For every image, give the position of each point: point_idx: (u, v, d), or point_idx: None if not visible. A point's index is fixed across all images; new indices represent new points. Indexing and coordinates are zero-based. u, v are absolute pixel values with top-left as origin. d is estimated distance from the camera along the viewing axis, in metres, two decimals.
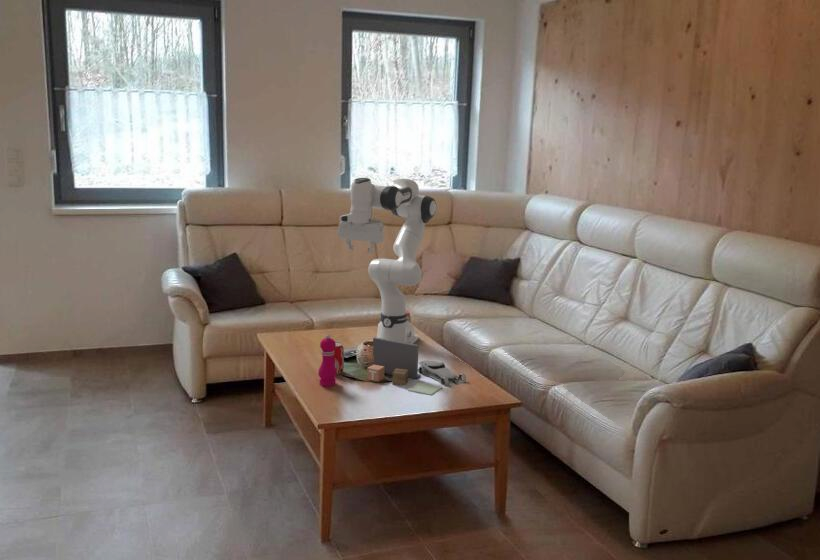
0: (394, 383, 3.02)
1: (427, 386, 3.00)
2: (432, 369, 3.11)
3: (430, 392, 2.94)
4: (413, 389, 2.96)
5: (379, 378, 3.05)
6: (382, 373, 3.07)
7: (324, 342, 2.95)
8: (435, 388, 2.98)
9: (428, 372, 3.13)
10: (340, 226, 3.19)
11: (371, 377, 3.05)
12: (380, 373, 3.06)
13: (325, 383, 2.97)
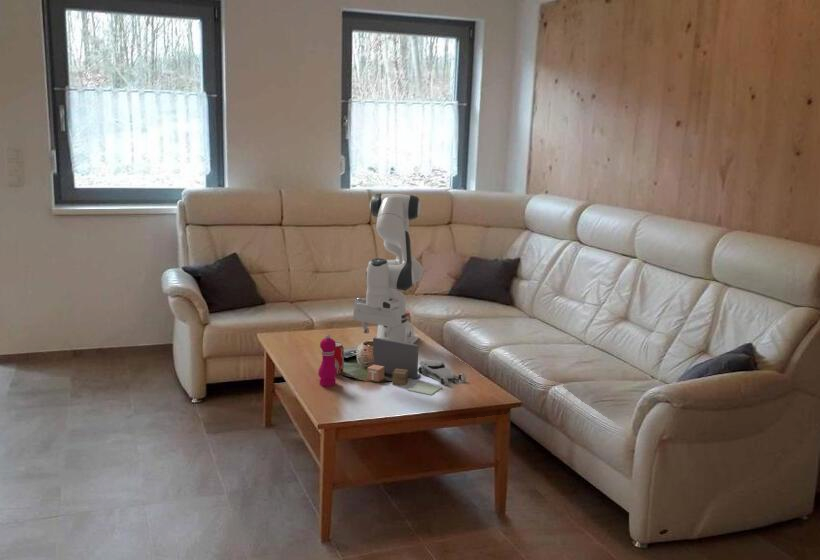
0: (394, 383, 3.02)
1: (427, 386, 3.00)
2: (432, 369, 3.12)
3: (430, 392, 2.94)
4: (413, 389, 2.96)
5: (379, 378, 3.05)
6: (382, 373, 3.07)
7: (324, 342, 2.95)
8: (435, 388, 2.98)
9: (428, 372, 3.13)
10: None
11: (371, 377, 3.05)
12: (380, 373, 3.06)
13: (325, 383, 2.97)
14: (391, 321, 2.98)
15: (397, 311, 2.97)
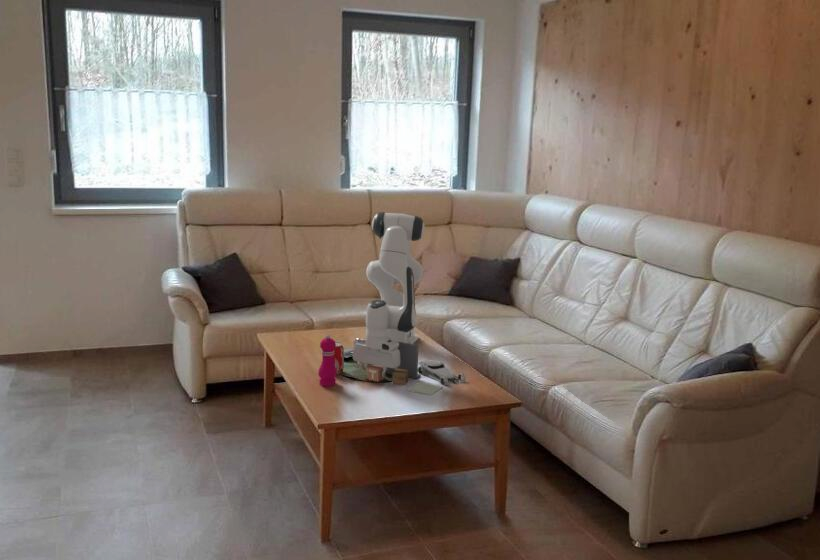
0: (394, 383, 3.02)
1: (427, 386, 3.00)
2: (431, 369, 3.11)
3: (430, 392, 2.94)
4: (413, 389, 2.96)
5: (379, 378, 3.05)
6: None
7: (324, 342, 2.95)
8: (435, 388, 2.98)
9: (427, 372, 3.13)
10: None
11: (371, 377, 3.05)
12: None
13: (325, 383, 2.97)
14: (390, 363, 3.01)
15: (396, 353, 3.00)
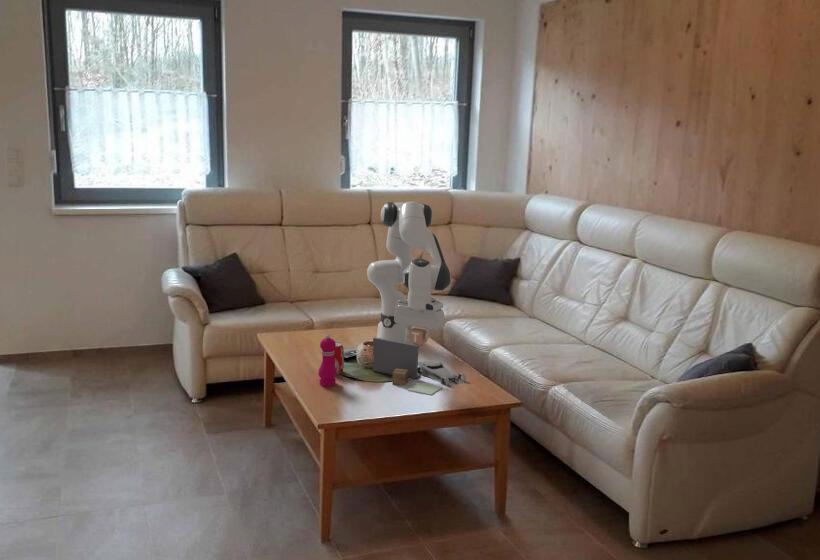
0: (394, 383, 3.02)
1: (427, 386, 3.00)
2: (431, 369, 3.11)
3: (430, 392, 2.94)
4: (413, 389, 2.96)
5: (422, 340, 2.92)
6: None
7: (324, 342, 2.95)
8: (435, 388, 2.98)
9: (427, 372, 3.13)
10: None
11: (414, 339, 2.93)
12: None
13: (325, 383, 2.97)
14: (434, 324, 2.88)
15: (440, 314, 2.88)
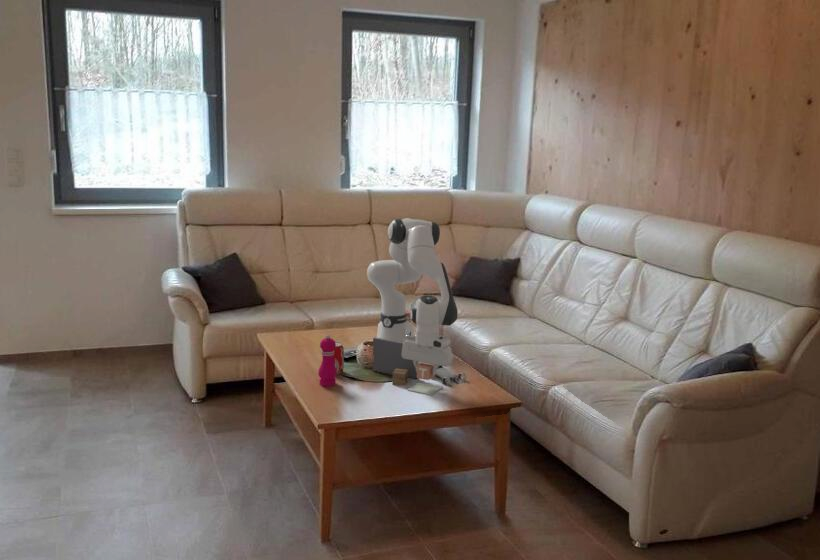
0: (394, 383, 3.02)
1: (427, 386, 3.00)
2: None
3: (430, 392, 2.94)
4: (413, 389, 2.96)
5: (430, 376, 2.94)
6: None
7: (324, 342, 2.95)
8: (435, 388, 2.98)
9: None
10: None
11: (421, 375, 2.94)
12: None
13: (325, 383, 2.97)
14: (442, 360, 2.90)
15: (448, 350, 2.90)
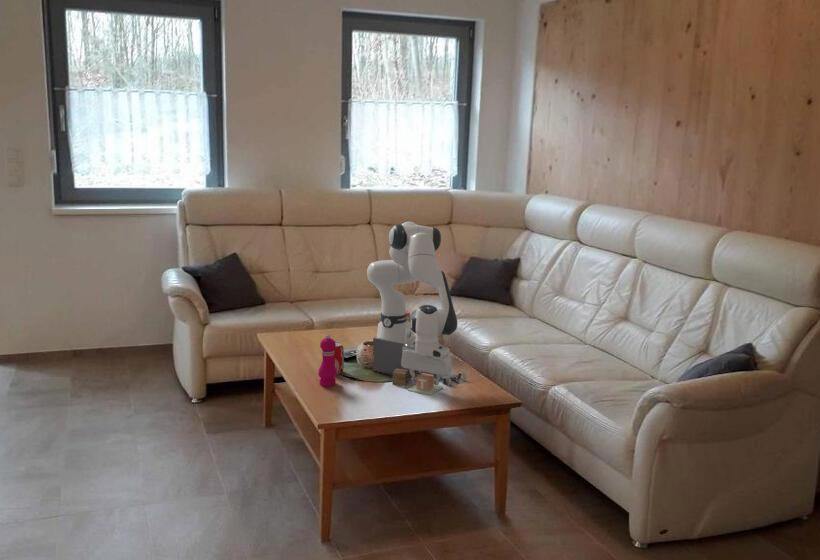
0: (394, 383, 3.02)
1: None
2: None
3: (430, 392, 2.94)
4: (413, 389, 2.96)
5: (429, 387, 2.95)
6: (432, 382, 2.97)
7: (324, 342, 2.95)
8: (435, 388, 2.98)
9: (426, 373, 3.12)
10: None
11: (420, 386, 2.96)
12: (430, 382, 2.96)
13: (325, 383, 2.97)
14: (441, 370, 2.91)
15: (447, 360, 2.90)
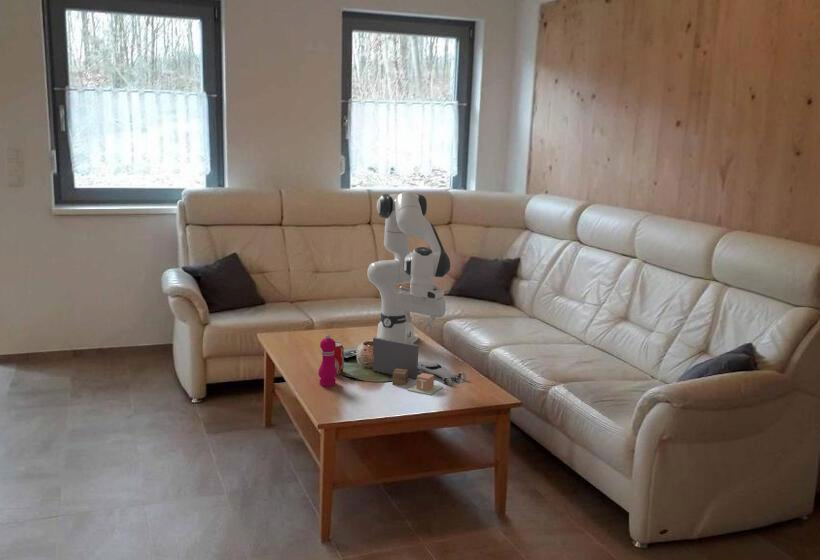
0: (394, 383, 3.02)
1: None
2: (431, 370, 3.11)
3: (430, 392, 2.94)
4: (413, 389, 2.96)
5: (429, 387, 2.95)
6: (432, 382, 2.97)
7: (324, 342, 2.95)
8: (435, 388, 2.98)
9: (426, 373, 3.12)
10: None
11: (420, 386, 2.96)
12: (430, 382, 2.96)
13: (325, 383, 2.97)
14: (435, 311, 2.95)
15: (442, 301, 2.94)
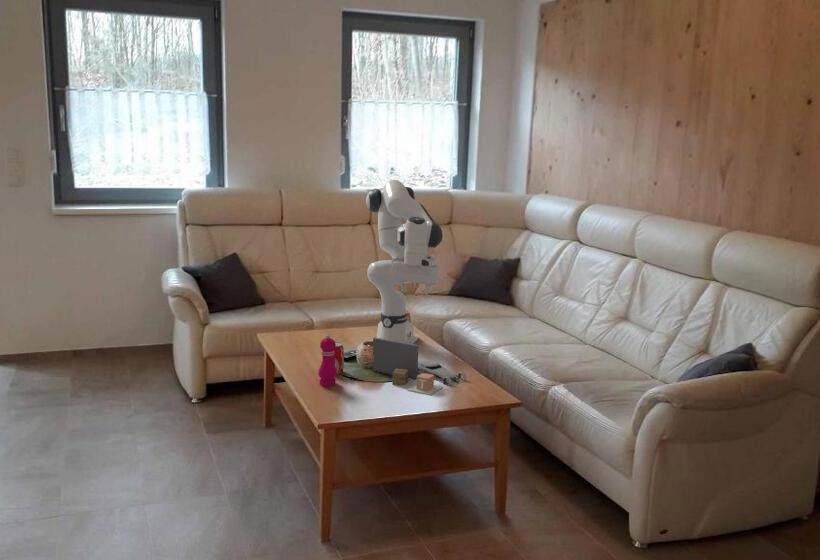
0: (394, 383, 3.02)
1: None
2: (431, 369, 3.11)
3: (430, 392, 2.94)
4: (413, 389, 2.96)
5: (429, 387, 2.95)
6: (432, 382, 2.97)
7: (324, 342, 2.95)
8: (435, 388, 2.98)
9: (426, 373, 3.12)
10: None
11: (420, 386, 2.96)
12: (430, 382, 2.96)
13: (325, 383, 2.97)
14: (429, 279, 3.00)
15: (436, 269, 3.00)
